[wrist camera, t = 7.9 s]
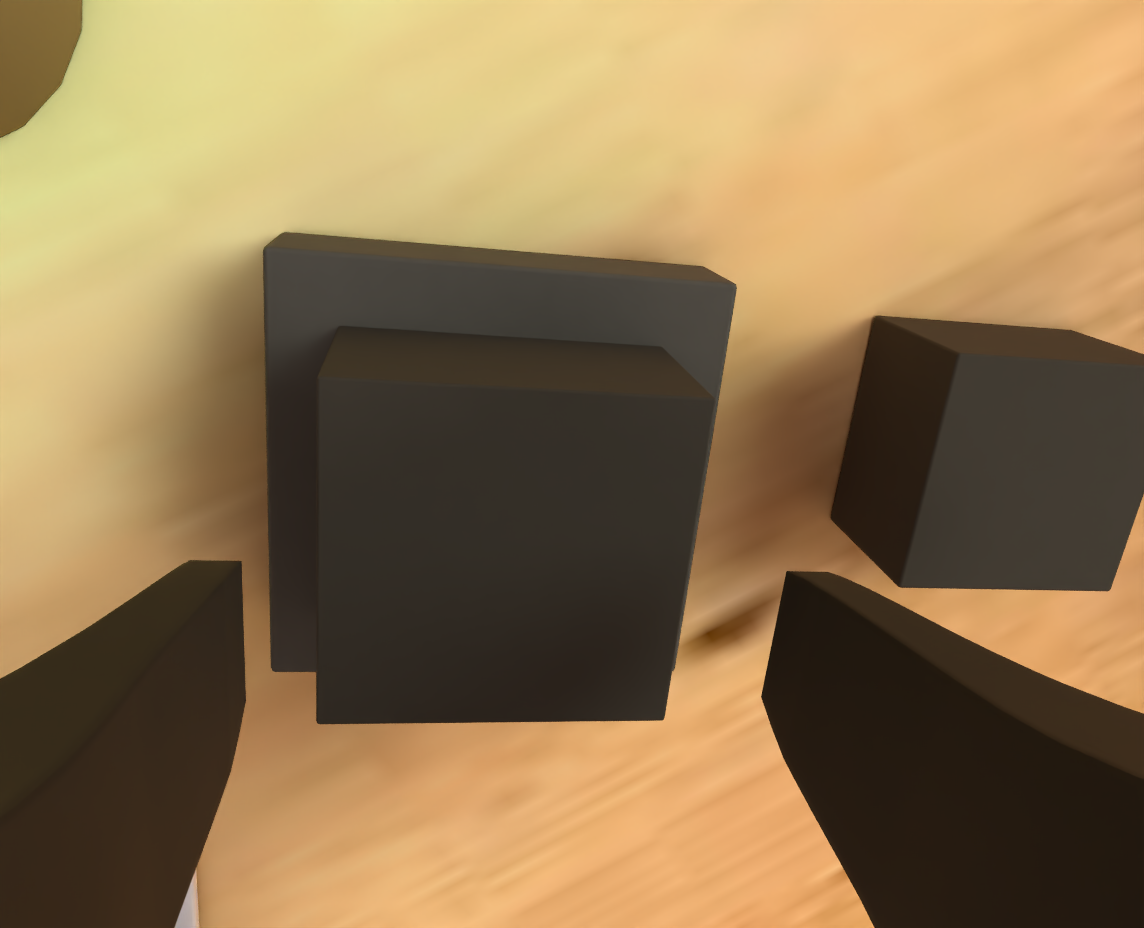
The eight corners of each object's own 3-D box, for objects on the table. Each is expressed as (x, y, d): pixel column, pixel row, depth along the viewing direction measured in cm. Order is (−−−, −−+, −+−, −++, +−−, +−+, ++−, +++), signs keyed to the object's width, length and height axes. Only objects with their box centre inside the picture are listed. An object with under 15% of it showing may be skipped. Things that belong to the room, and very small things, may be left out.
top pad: (1014, 524, 21) (1110, 592, 18) (828, 519, 20) (898, 589, 17) (1072, 330, 19) (1188, 368, 16) (873, 315, 18) (959, 352, 15)
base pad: (652, 623, 20) (675, 673, 18) (285, 619, 19) (269, 673, 17) (706, 266, 18) (739, 284, 16) (280, 231, 16) (262, 246, 14)
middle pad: (625, 621, 18) (664, 721, 15) (335, 618, 17) (315, 725, 14) (663, 346, 16) (716, 398, 13) (338, 325, 15) (315, 376, 12)
